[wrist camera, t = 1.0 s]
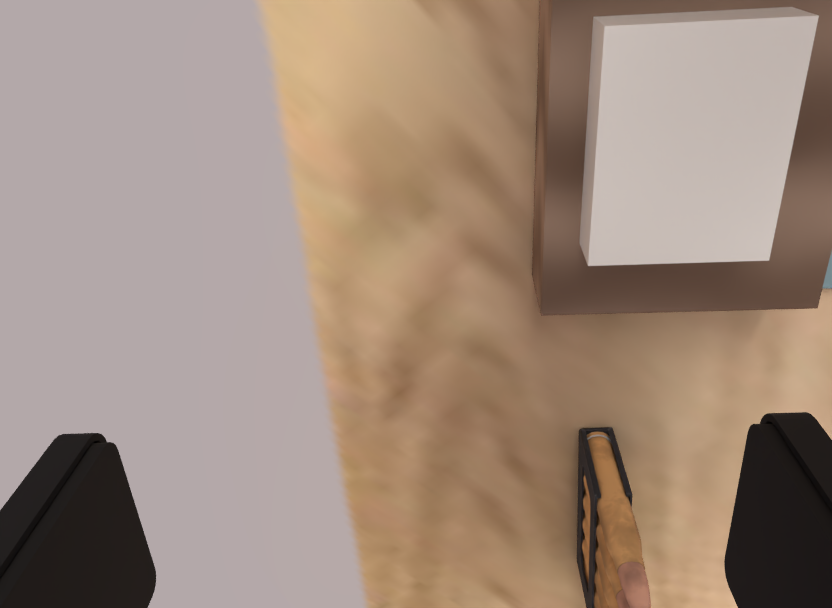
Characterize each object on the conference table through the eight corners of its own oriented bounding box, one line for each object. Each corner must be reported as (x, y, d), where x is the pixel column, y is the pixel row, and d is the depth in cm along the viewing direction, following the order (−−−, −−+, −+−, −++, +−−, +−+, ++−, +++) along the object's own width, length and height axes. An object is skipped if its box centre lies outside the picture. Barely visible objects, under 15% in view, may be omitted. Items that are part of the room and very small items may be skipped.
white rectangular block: (593, 16, 26) (604, 26, 24) (791, 6, 26) (819, 15, 24) (579, 242, 31) (588, 265, 29) (748, 237, 30) (769, 260, 28)
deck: (542, -92, 28) (555, -91, 25) (861, -111, 28) (921, -112, 24) (532, 274, 36) (541, 315, 33) (781, 267, 35) (817, 308, 32)
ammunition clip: (579, 427, 41) (624, 611, 30) (612, 425, 41) (669, 609, 30) (576, 560, 46) (614, 757, 35) (606, 559, 46) (653, 756, 35)
